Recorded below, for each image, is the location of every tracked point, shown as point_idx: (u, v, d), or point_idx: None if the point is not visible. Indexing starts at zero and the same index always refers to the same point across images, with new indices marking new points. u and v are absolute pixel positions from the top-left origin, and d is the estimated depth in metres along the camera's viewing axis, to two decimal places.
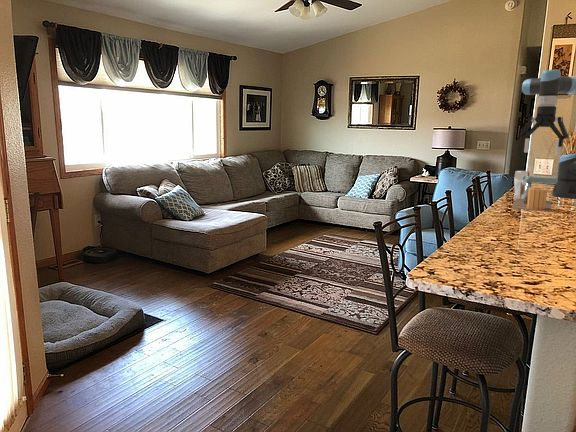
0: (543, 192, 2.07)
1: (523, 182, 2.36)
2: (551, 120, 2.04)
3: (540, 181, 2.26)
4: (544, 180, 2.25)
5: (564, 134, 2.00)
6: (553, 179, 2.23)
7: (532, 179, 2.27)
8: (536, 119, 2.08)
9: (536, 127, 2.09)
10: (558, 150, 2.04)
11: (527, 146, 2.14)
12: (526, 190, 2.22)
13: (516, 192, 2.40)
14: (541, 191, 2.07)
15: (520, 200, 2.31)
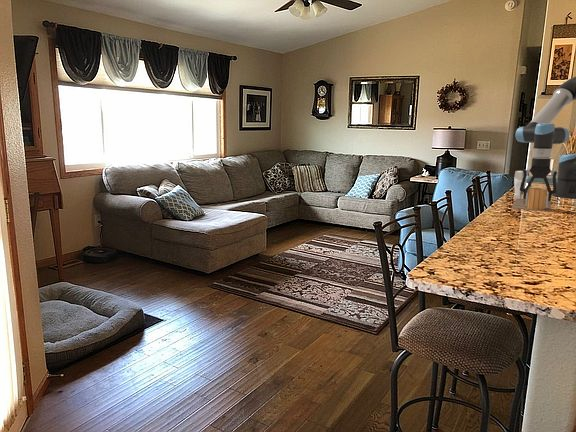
0: (543, 192, 2.07)
1: None
2: (547, 172, 2.06)
3: (540, 181, 2.26)
4: None
5: (555, 189, 2.06)
6: None
7: None
8: (531, 171, 2.09)
9: (533, 179, 2.10)
10: (547, 204, 2.10)
11: None
12: None
13: (516, 192, 2.40)
14: (541, 191, 2.07)
15: (520, 200, 2.31)
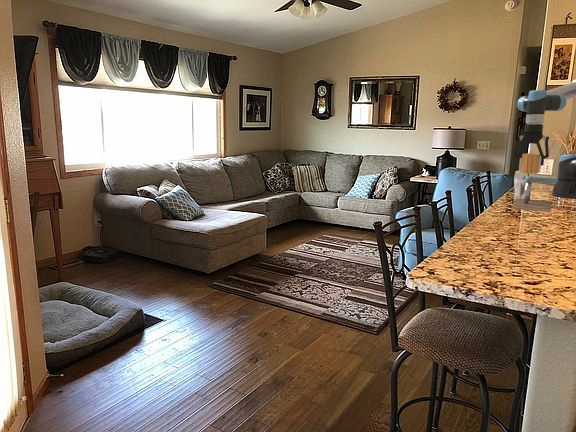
0: (536, 157, 2.15)
1: (523, 182, 2.36)
2: (539, 137, 2.15)
3: (540, 181, 2.26)
4: (544, 180, 2.25)
5: (547, 154, 2.14)
6: (553, 179, 2.23)
7: (532, 179, 2.27)
8: (525, 136, 2.18)
9: None
10: None
11: None
12: (526, 190, 2.22)
13: (516, 192, 2.40)
14: (534, 156, 2.15)
15: (520, 200, 2.31)
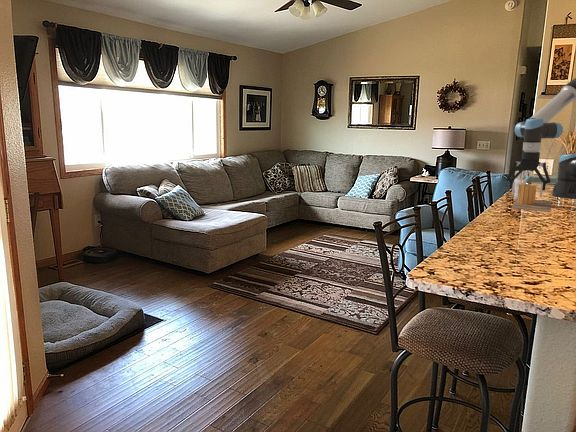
0: (532, 188, 2.19)
1: (523, 182, 2.36)
2: (536, 165, 2.17)
3: (540, 181, 2.26)
4: None
5: (548, 179, 2.16)
6: (553, 179, 2.23)
7: (532, 179, 2.27)
8: (521, 163, 2.21)
9: None
10: (541, 193, 2.20)
11: None
12: None
13: (516, 192, 2.40)
14: (530, 187, 2.18)
15: None
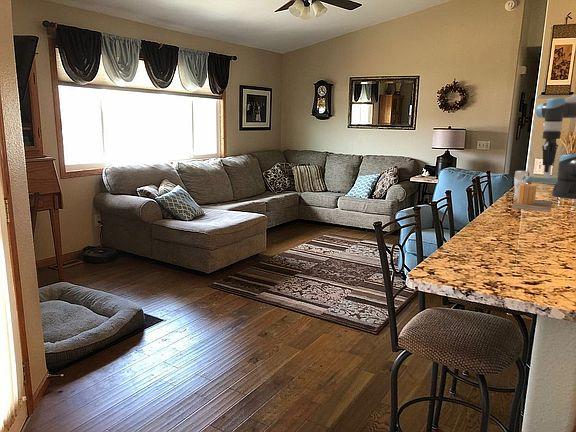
0: (532, 188, 2.19)
1: (523, 182, 2.36)
2: None
3: (540, 181, 2.26)
4: (544, 180, 2.25)
5: None
6: (553, 179, 2.23)
7: (532, 179, 2.27)
8: None
9: None
10: (546, 175, 2.26)
11: None
12: None
13: (516, 192, 2.40)
14: (530, 187, 2.18)
15: None
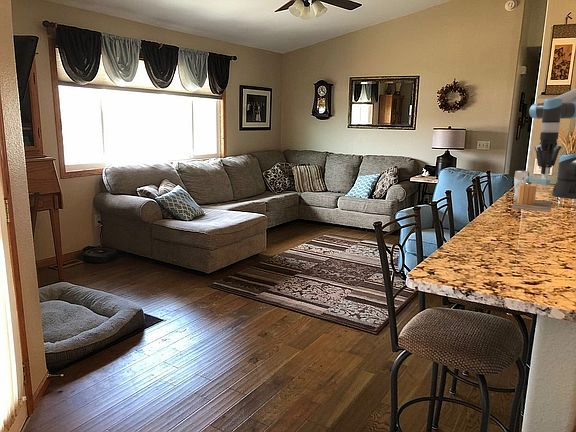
0: (532, 188, 2.19)
1: (523, 182, 2.36)
2: None
3: (534, 181, 2.24)
4: (537, 181, 2.22)
5: None
6: (543, 180, 2.19)
7: (529, 179, 2.27)
8: None
9: None
10: (543, 177, 2.22)
11: None
12: None
13: (516, 192, 2.40)
14: (530, 187, 2.18)
15: None
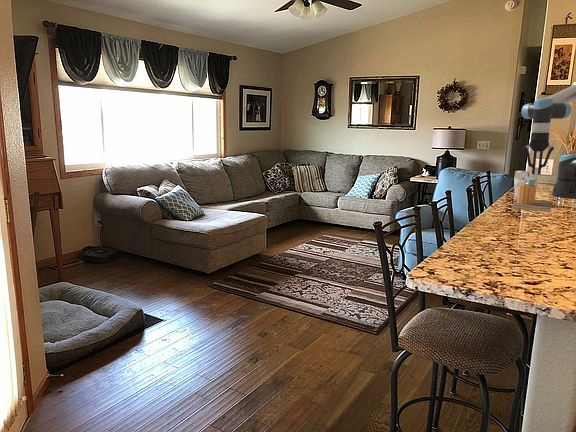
0: (532, 188, 2.19)
1: (523, 182, 2.36)
2: None
3: (527, 181, 2.25)
4: (527, 181, 2.23)
5: None
6: (528, 180, 2.20)
7: (526, 178, 2.28)
8: None
9: None
10: (534, 177, 2.21)
11: None
12: None
13: (516, 192, 2.40)
14: (530, 187, 2.18)
15: None
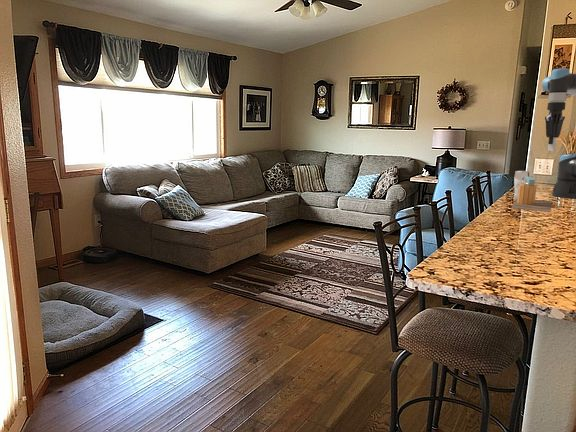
0: (532, 188, 2.19)
1: (523, 182, 2.36)
2: None
3: (527, 181, 2.25)
4: (527, 181, 2.23)
5: None
6: (528, 180, 2.20)
7: (526, 178, 2.28)
8: None
9: None
10: (550, 147, 2.25)
11: None
12: None
13: (516, 192, 2.40)
14: (530, 187, 2.18)
15: None
